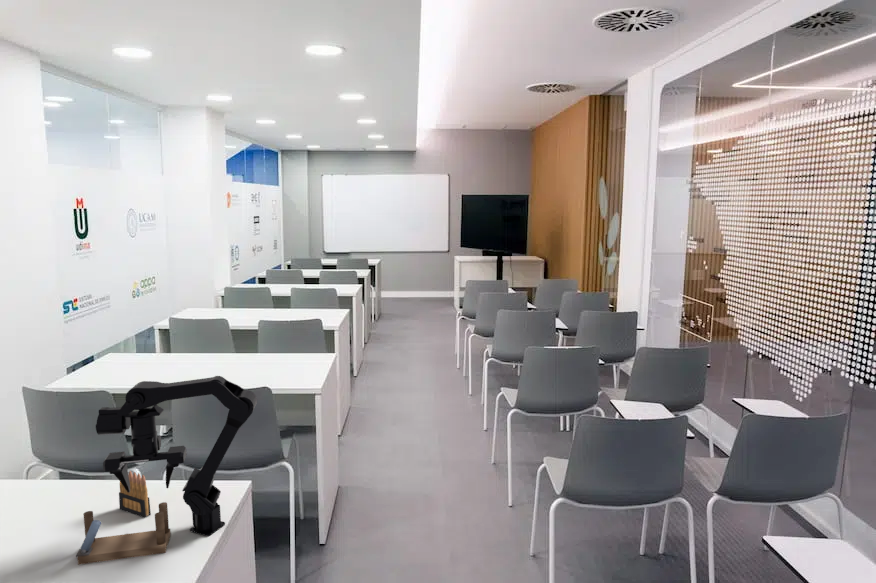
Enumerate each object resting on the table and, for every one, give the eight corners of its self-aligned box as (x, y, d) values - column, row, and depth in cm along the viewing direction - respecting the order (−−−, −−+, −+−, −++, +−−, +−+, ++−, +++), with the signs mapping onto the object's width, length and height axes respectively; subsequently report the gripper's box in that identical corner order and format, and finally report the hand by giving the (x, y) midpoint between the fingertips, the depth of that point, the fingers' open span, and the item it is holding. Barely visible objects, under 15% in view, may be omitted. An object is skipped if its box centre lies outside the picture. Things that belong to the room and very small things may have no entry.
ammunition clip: (151, 515, 165) (148, 474, 163) (145, 518, 163) (142, 476, 162) (125, 506, 170) (122, 466, 168) (119, 509, 168) (116, 469, 166)
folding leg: (90, 549, 145) (102, 520, 144) (87, 554, 142) (99, 525, 142) (81, 546, 144) (94, 518, 144) (78, 552, 142) (91, 523, 142)
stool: (170, 535, 154) (168, 500, 153) (165, 552, 147) (163, 516, 145) (86, 546, 149) (83, 510, 148) (76, 565, 142) (73, 527, 140)
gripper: (187, 417, 162) (191, 472, 164) (112, 424, 157) (116, 480, 160) (181, 432, 151) (185, 490, 154) (99, 440, 147) (105, 499, 149)
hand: (148, 489), depth 154 cm, fingers open, 9 cm apart
